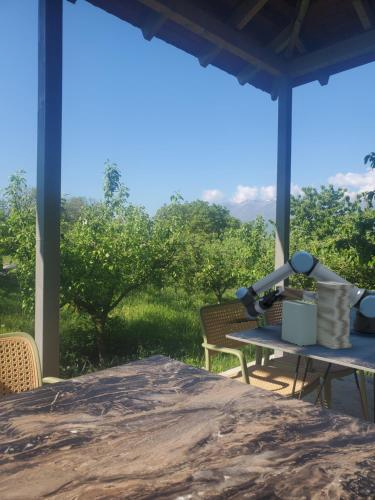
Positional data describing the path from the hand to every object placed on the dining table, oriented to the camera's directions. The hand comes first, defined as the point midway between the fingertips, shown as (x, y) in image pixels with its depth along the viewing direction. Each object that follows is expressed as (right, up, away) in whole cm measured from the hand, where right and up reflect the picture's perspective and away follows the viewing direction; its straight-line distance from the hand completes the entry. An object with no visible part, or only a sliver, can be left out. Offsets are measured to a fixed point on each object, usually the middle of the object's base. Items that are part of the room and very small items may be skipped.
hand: (286, 288), depth 206 cm
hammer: (+46, -26, +50) cm, 73 cm away
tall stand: (+19, -26, -13) cm, 35 cm away
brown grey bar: (+3, -4, -7) cm, 8 cm away
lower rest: (+4, -26, -9) cm, 28 cm away
